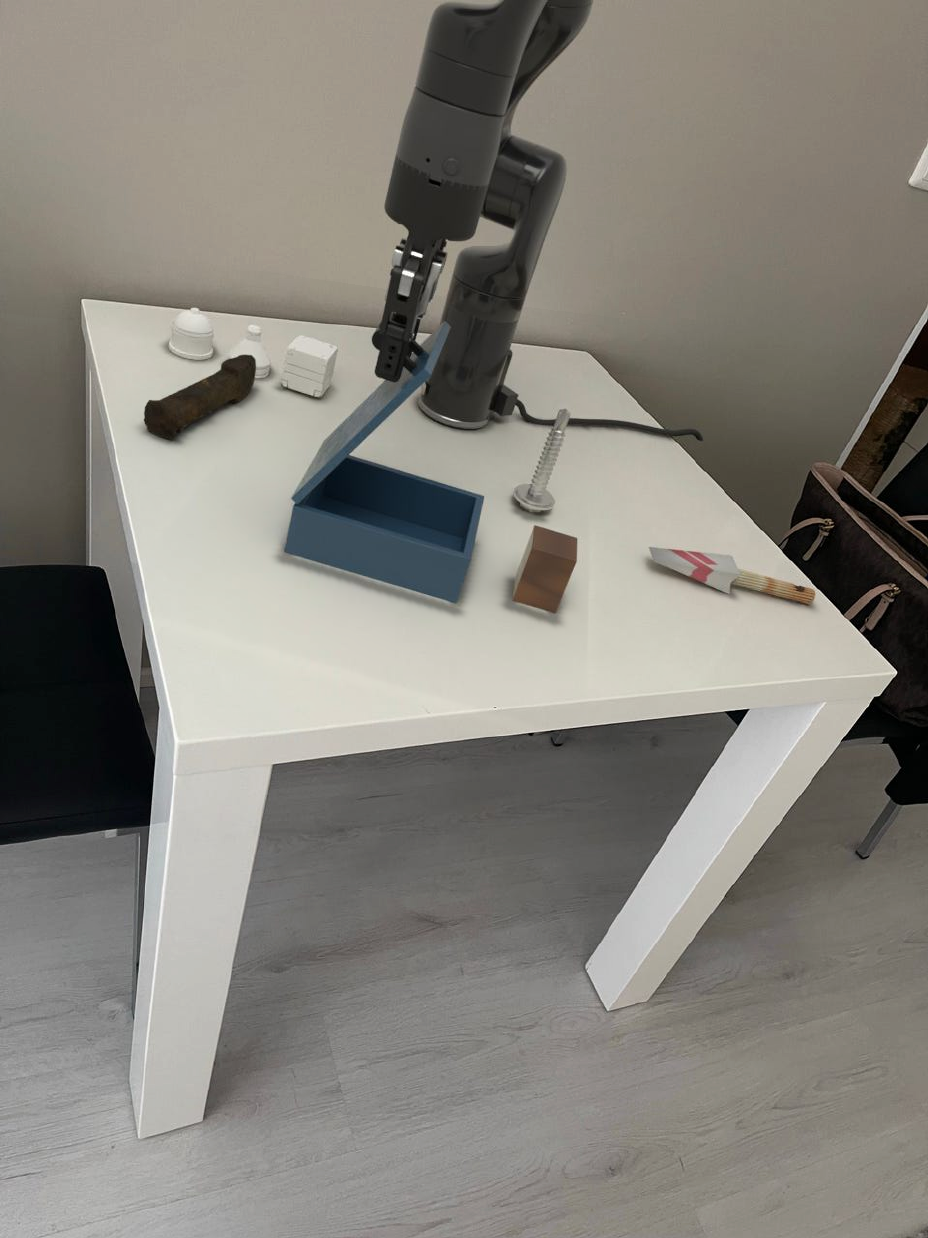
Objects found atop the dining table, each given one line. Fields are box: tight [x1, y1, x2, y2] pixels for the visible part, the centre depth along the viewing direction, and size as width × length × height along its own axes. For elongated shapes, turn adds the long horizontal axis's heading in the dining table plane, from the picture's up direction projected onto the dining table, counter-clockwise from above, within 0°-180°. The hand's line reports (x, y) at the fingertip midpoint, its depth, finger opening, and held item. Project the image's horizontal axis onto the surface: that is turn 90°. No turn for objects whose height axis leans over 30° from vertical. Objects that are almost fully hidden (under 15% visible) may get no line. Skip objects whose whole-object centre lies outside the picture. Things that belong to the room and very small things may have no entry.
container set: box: [168, 307, 338, 398], centre depth 117 cm, size 20×5×6 cm, turn 80°
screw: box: [512, 408, 571, 513], centre depth 106 cm, size 13×5×5 cm
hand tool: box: [143, 355, 256, 439], centre depth 106 cm, size 19×4×5 cm, turn 156°
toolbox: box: [284, 454, 485, 604], centre depth 93 cm, size 17×13×6 cm
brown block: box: [511, 525, 578, 614], centre depth 93 cm, size 4×4×7 cm
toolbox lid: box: [290, 312, 451, 504], centre depth 86 cm, size 18×13×5 cm
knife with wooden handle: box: [648, 546, 816, 605], centre depth 108 cm, size 4×3×20 cm
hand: (392, 365), depth 84 cm, fingers closed on toolbox lid, 5 cm apart
